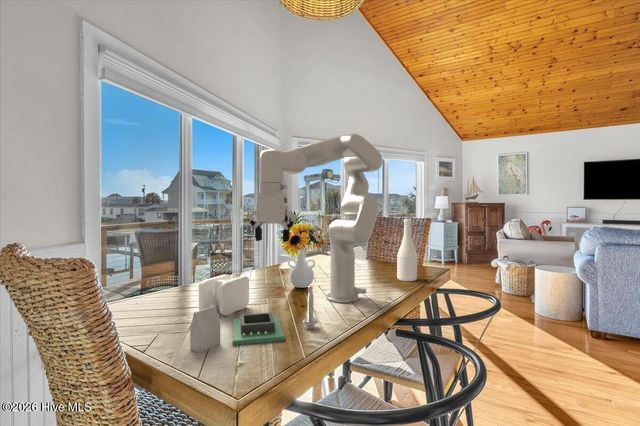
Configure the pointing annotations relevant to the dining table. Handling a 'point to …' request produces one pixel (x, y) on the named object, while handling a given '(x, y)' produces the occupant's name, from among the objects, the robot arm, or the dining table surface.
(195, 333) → the tea bag
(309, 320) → the screw
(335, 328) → the dining table surface
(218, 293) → the cable organizer
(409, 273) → the wine bottle
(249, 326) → the board
